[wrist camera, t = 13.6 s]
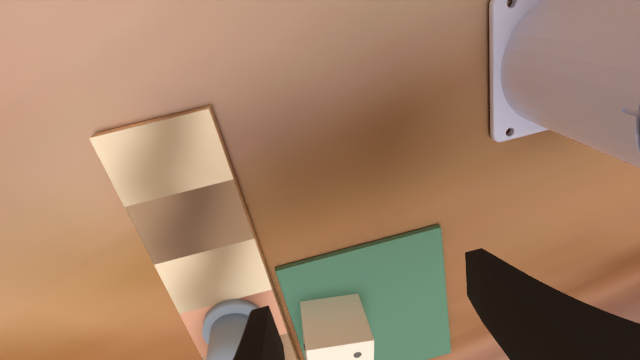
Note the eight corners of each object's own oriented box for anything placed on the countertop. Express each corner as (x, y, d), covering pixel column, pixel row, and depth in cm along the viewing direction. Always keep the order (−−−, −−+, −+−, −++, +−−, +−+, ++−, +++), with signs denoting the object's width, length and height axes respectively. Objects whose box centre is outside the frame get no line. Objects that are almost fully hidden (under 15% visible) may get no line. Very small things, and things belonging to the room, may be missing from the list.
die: (358, 293, 26) (374, 341, 22) (358, 336, 27) (373, 387, 24) (298, 301, 25) (304, 352, 22) (302, 344, 27) (308, 398, 23)
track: (210, 104, 19) (208, 108, 19) (299, 361, 28) (300, 371, 27) (95, 133, 19) (89, 138, 18) (221, 383, 28) (220, 393, 27)
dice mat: (438, 224, 25) (441, 227, 24) (448, 348, 30) (451, 352, 30) (275, 267, 24) (275, 271, 24) (314, 385, 30) (315, 390, 29)
